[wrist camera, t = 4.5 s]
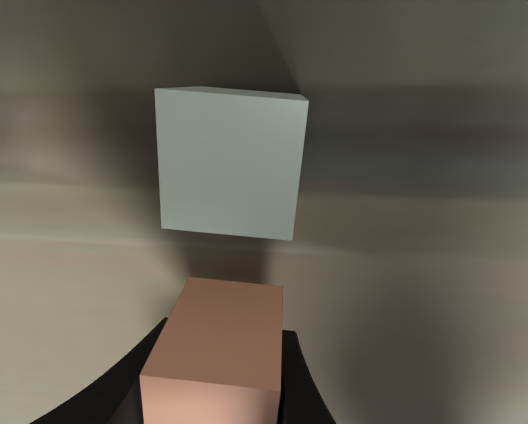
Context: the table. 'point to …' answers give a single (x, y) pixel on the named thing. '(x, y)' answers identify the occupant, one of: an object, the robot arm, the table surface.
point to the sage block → (229, 160)
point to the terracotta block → (217, 356)
